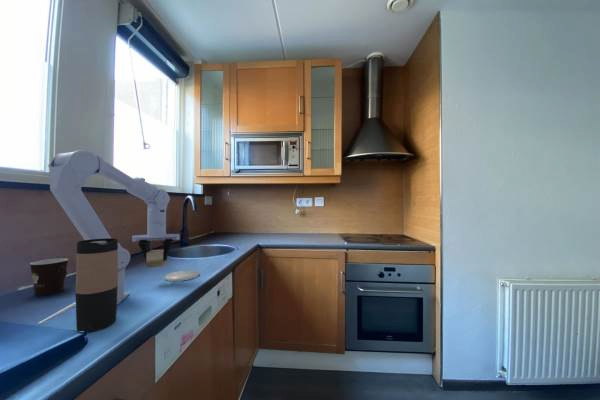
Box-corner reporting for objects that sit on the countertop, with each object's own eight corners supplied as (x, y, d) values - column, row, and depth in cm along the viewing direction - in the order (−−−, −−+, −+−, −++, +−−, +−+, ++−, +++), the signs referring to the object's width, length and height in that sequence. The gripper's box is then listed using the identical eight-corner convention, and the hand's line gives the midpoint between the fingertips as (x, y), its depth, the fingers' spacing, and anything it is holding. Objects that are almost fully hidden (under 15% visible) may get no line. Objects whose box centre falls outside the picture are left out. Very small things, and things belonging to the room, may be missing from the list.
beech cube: (162, 266, 85) (162, 252, 85) (146, 267, 83) (146, 253, 83) (165, 263, 89) (166, 249, 89) (150, 264, 88) (150, 250, 88)
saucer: (197, 279, 91) (197, 277, 91) (161, 282, 88) (161, 280, 88) (200, 271, 103) (200, 269, 103) (168, 273, 99) (168, 271, 99)
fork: (30, 327, 58) (30, 319, 58) (93, 294, 78) (93, 288, 78) (45, 326, 58) (45, 318, 58) (104, 293, 78) (104, 288, 78)
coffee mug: (30, 292, 79) (30, 261, 79) (66, 285, 85) (67, 257, 85) (28, 302, 71) (29, 267, 71) (69, 294, 77) (69, 262, 77)
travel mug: (88, 319, 60) (89, 238, 60) (123, 316, 62) (124, 237, 62) (66, 335, 52) (67, 243, 53) (106, 331, 54) (107, 242, 55)
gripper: (180, 221, 92) (180, 257, 92) (137, 222, 88) (136, 259, 88) (177, 222, 86) (177, 261, 85) (130, 223, 81) (129, 264, 81)
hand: (156, 260), depth 86 cm, fingers closed on beech cube, 5 cm apart
